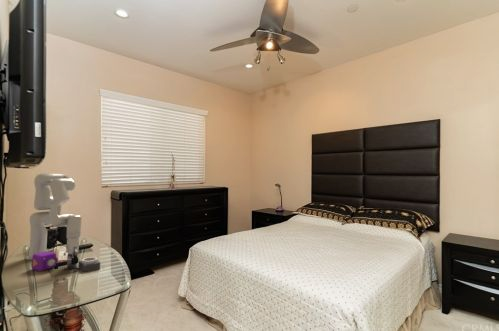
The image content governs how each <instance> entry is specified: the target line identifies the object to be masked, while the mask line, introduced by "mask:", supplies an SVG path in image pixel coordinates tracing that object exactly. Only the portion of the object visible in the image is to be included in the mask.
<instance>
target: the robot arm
mask: <svg viewBox="0 0 499 331" xmlns="http://www.w3.org/2000/svg"><path fill="white" fill-rule="evenodd" d="M33 184H34V187H35V189H34V190H35V194H34V203H33V208H34V209H35V210H37V211H38V212H34V213H32V214H30V216H29V219H28V220H29V225H30V226H29V227H30V234H29V248H28V251H29V252H28V255H27V256H26V257H25V260H28V261H32V257H33V255H34V254H37V253H41V252H45V251H47V233H48V232H47V229H46V228H45V227H44V226H48V225H53V226H54V227H55V228H57V227H61V226H66V227H67V236H66V238H67V244H66V248H65V249H66V250H65V252H66V253H67V257H68V255H69V254H72V258H71V264H76V265H78V263H79V260H78V259H79V256H78V255H79V254H78V253H79V249H80V248H79V247H80V239H79V238H81V234H82V233H81V232H82V215H81V214H80V215H79V214H76V213H64V214H61V212H62V205H64V204H65V203H67V202H68V201H69V200H70V196H69V191H71V192H72V191H73V190H75V187H76V183H75V181H74V180H73V179H72V178H71V177H69V175H66V174H64V173H50V172H48V173H45V172H44V173H39V174H37V175H36V176H35V177H34V181H33ZM47 210H48V211H47ZM54 227H53V228H54ZM73 254H74V256H73Z"/></svg>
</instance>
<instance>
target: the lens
mask: <svg viewBox="0 0 499 331" xmlns="http://www.w3.org/2000/svg"><path fill="white" fill-rule="evenodd" d="M67 256H68V257H67V258H66V259H67V261H66V269H67V270H75V269H76V268H77V264H71V258H72V254H69V255H68V254H67ZM73 256H74V254H73Z"/></svg>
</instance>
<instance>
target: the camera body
mask: <svg viewBox="0 0 499 331" xmlns="http://www.w3.org/2000/svg"><path fill="white" fill-rule="evenodd" d="M78 268H79V270H81V271H82V272H83V273H86V272H91V271H96V270H100V269H101V261H99V260H98V257H96V256H89V257H88V256H87V257H84V258H82V259H81V260H78Z"/></svg>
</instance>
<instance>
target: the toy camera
mask: <svg viewBox="0 0 499 331" xmlns="http://www.w3.org/2000/svg"><path fill="white" fill-rule="evenodd" d="M31 261H32V262H31V268H32V269H33V270H35V271H38V272H42V271H47V270H50V269H52V268H55V267H56V265H57V263H58V259H57V253H56V252H54V251H49V250H46V251H45V252H41V253H37V254H34V255H33V257H32V260H31ZM54 266H55V267H54Z"/></svg>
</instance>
